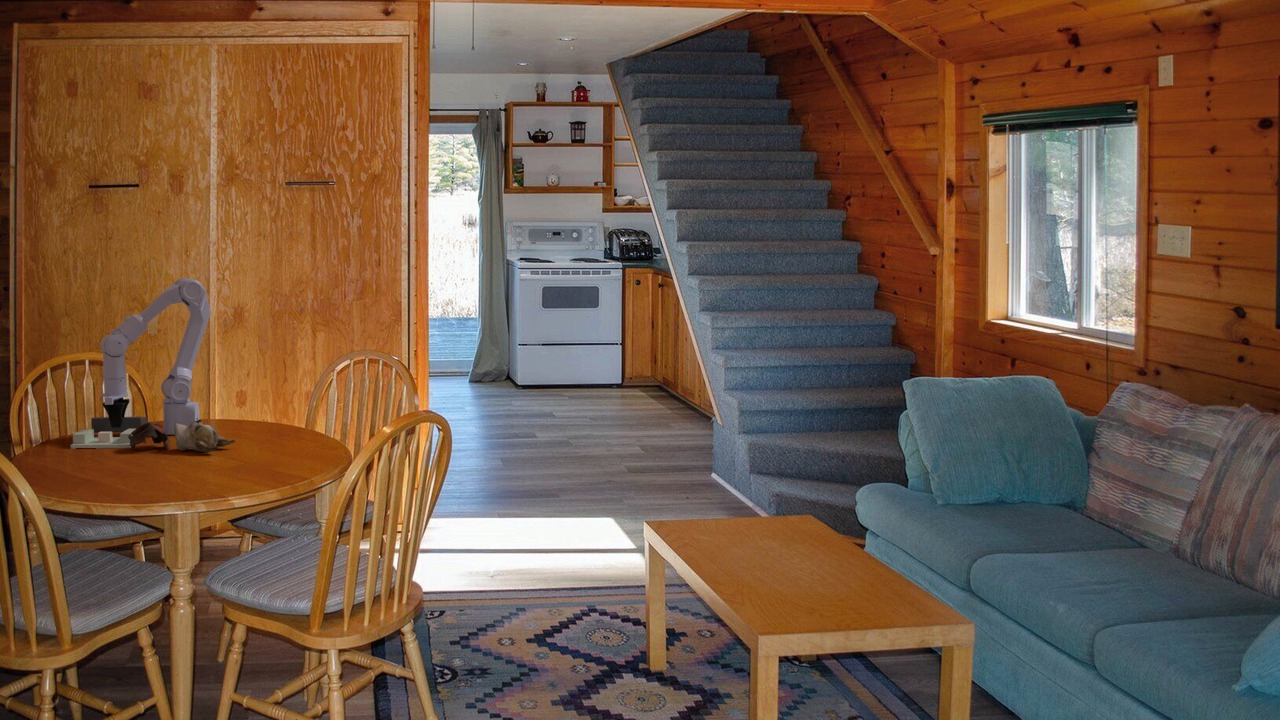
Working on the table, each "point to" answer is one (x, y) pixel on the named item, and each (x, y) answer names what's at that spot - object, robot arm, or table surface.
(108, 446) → the stand
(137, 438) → the dark brown legged piece
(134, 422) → the dark gray rectangular block
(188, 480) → the table surface
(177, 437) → the ceramic sculpture
